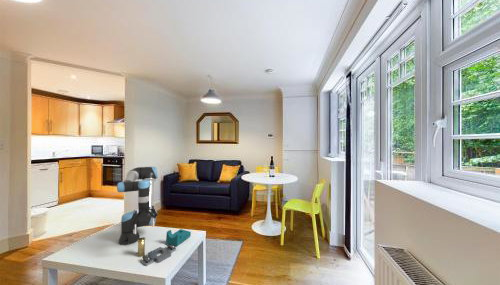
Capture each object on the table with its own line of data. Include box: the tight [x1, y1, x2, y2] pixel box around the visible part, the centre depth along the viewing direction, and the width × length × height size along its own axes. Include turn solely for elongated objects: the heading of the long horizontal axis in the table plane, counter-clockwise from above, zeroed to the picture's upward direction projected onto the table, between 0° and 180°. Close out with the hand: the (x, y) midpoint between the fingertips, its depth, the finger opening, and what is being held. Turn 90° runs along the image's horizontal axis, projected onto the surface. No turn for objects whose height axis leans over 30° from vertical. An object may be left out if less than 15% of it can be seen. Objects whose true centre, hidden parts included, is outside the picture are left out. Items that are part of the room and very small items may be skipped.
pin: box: [137, 237, 146, 258], centre depth 146 cm, size 5×5×12 cm
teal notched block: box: [165, 228, 192, 247], centre depth 167 cm, size 18×11×10 cm, turn 161°
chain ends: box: [140, 244, 177, 267], centre depth 145 cm, size 14×23×4 cm, turn 145°
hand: (144, 229), depth 146 cm, fingers open, 13 cm apart
